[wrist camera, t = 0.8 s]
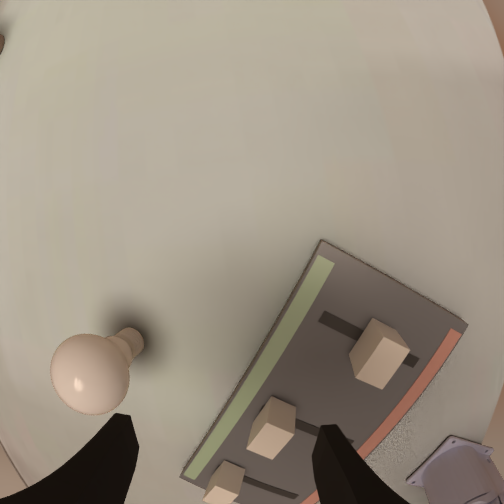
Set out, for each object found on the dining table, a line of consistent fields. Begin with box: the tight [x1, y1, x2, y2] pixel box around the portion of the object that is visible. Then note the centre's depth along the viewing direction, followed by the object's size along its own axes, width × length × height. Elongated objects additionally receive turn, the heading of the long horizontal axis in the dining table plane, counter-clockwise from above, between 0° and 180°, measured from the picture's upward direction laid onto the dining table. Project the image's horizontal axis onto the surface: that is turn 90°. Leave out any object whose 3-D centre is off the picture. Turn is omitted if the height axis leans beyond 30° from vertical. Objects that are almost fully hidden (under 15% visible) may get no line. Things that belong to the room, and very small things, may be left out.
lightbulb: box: [50, 327, 144, 415], centre depth 23 cm, size 6×6×11 cm
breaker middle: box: [246, 396, 296, 460], centre depth 24 cm, size 2×4×4 cm
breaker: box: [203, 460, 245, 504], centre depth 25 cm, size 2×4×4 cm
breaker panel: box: [180, 239, 468, 504], centre depth 26 cm, size 15×30×2 cm, turn 153°
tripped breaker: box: [349, 318, 410, 389], centre depth 21 cm, size 2×4×4 cm
